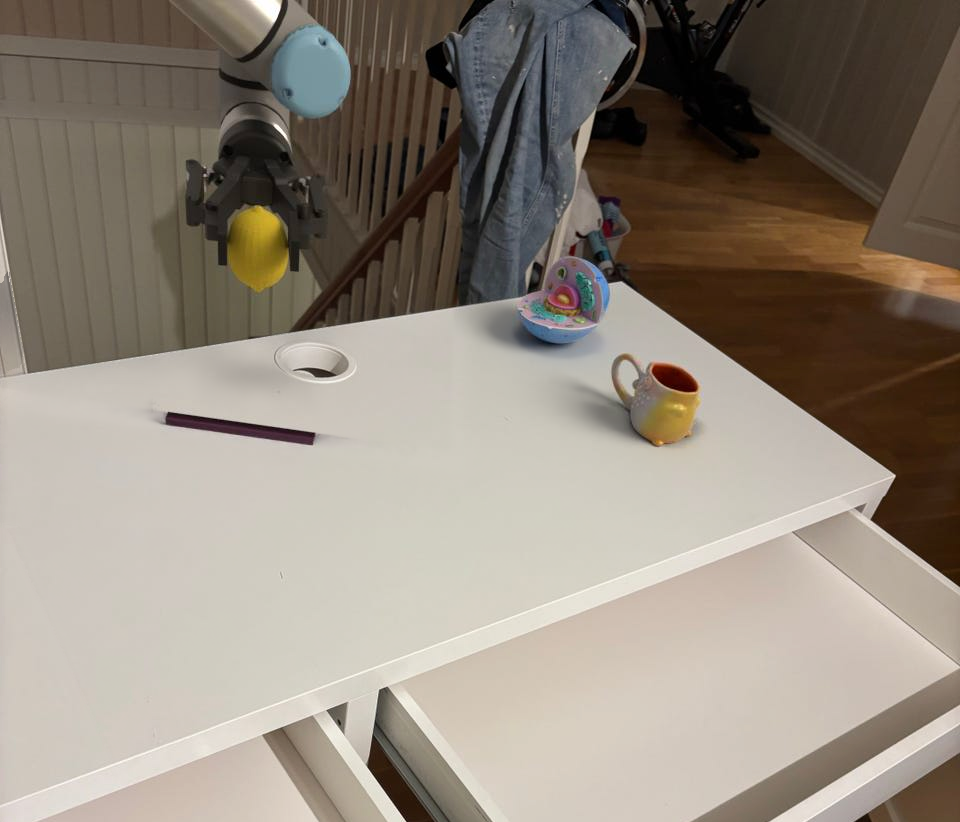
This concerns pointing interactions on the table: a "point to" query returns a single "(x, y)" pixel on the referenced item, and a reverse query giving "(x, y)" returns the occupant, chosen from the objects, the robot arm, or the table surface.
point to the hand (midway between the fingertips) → (259, 253)
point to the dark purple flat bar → (239, 428)
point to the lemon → (257, 248)
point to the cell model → (566, 302)
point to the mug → (659, 399)
